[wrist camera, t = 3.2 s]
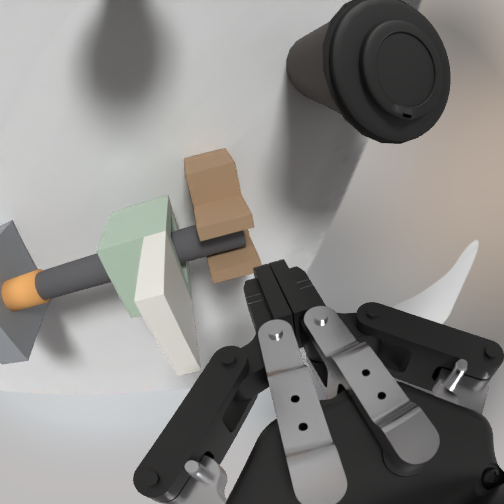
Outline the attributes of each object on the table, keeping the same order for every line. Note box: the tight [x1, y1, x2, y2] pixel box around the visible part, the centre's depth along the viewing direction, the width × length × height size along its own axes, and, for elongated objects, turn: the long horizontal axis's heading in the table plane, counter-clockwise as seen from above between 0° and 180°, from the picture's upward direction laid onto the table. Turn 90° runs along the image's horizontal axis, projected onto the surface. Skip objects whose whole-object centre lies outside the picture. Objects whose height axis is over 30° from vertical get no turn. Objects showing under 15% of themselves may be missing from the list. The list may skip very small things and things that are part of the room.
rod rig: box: [0, 148, 261, 364], centre depth 18 cm, size 23×8×8 cm, turn 100°
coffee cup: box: [287, 0, 450, 144], centre depth 15 cm, size 8×8×10 cm
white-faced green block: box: [96, 196, 201, 376], centre depth 16 cm, size 4×5×10 cm
